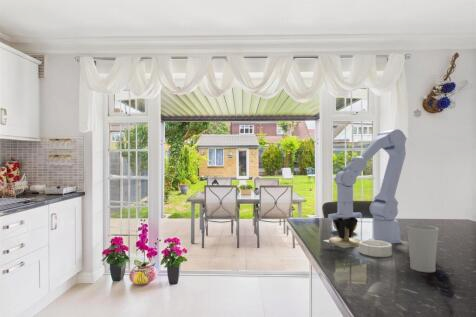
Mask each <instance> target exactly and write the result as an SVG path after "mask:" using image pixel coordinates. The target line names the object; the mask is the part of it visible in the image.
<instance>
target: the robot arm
mask: <svg viewBox="0 0 476 317" xmlns="http://www.w3.org/2000/svg"><path fill="white" fill-rule="evenodd" d="M406 142H407V136H406V135H405V133H404V132H403V131H402V130H401V129H398V128H397V129H396V128H395V129H391V130H385V131H380V132H378V133H377V135H375V136H374V137H373V139H372V141H371V142H370V143H369V144H368V146H367V147H366V148H365V149H364V151H363V152H362V153H361V154H360V156H359V155H358V156H354V157H351V158H350V162H349V163H348V164H346V166H343V167H342V170H340V171H338V172H337V173H336V174H335V176H334V183H335V184H336V192H337V194H336V195H337V199H336V200H337V201H336V202H337V204H336V206H337V210H336V211H337V212H335V213H329V214H327V220H329V221H330V220H331V221H332V223H333V222H334V224H335V225H336V228H337V230H336V231H337V234H338V237H339V238H342V239H344V236H345V227H346V228H348V229H349V238H353V237H352V236H353V234H354V233H353V232H354V231H355V230H354V227H355V225H356V224H357V225H358V222H359V221H358V219H362V218H363V213H361V212H359V211H358V212H354V185H355V184H356V182H357V178H358V177H359V176H360V174H361V173H362V172H364V171H365V169H366V168H367V166H368V162H369V161H370V159H372V158H373V157H374V156H375V155H376V154H377V153H378V152H379V151H380V150H381V149H382V150H384V151H385V152H386V153H387V155H388V160H387V164H386V168H385V170H384V175H383V179H382V182H381V187H380V190H379V193H377V195H375V196H374V198H373V200H372V202H371V203H370V205H369V213H370V214H371V215H372V218H373V219H372V220H373V221H372V222H373V223H372V226H373V230H372V232H373V233H372V236H373V238H368V239H367V240H379V241H384V242H388V243H391V244H398V243H399V244H400V243H402V242H403V241H402V240H401V225H400V222H399V221H398V220H397V219H396V217H397V216H398V213H399V210H398V205H399V202H398V200H397V199H396V197H395V195H396V193H397V189H398V185H399V181H400V177H401V175H402V174H401V173H402V170H403V165H404V162H405V159H406V155H407V154H406V151H407V150H406ZM339 217H340V218H339ZM355 218H356V219H355ZM343 219H344V220H343ZM353 230H354V231H353Z"/></svg>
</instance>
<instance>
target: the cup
mask: <svg viewBox="0 0 476 317" xmlns="http://www.w3.org/2000/svg"><path fill="white" fill-rule="evenodd" d="M406 232H407V237H408V238H407V239H408V249H409V250H408V252H409V262H410V263H409V264H410V265H409V267H410V269H412V270H414V271H417V272H422V273H435V272H436V259H437V248H438V247H437V246H438V240H439V239H438V238H439V228H438V227H436V226H433V225H426V224H407V225H406Z"/></svg>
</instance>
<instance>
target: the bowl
mask: <svg viewBox="0 0 476 317" xmlns="http://www.w3.org/2000/svg"><path fill="white" fill-rule="evenodd" d="M359 240H360V241H359V246H358V252H359V253H360V254H362V255H364V256H370V257H375V258H376V257H377V258H385V257H386V258H387V257H391V256H393V254H392V253H393V252H392V251H393V250H392V249H393V248H392V246H393V245H392V243H388V242H384V241H379V240H368V239H362V240H361V239H359Z"/></svg>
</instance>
